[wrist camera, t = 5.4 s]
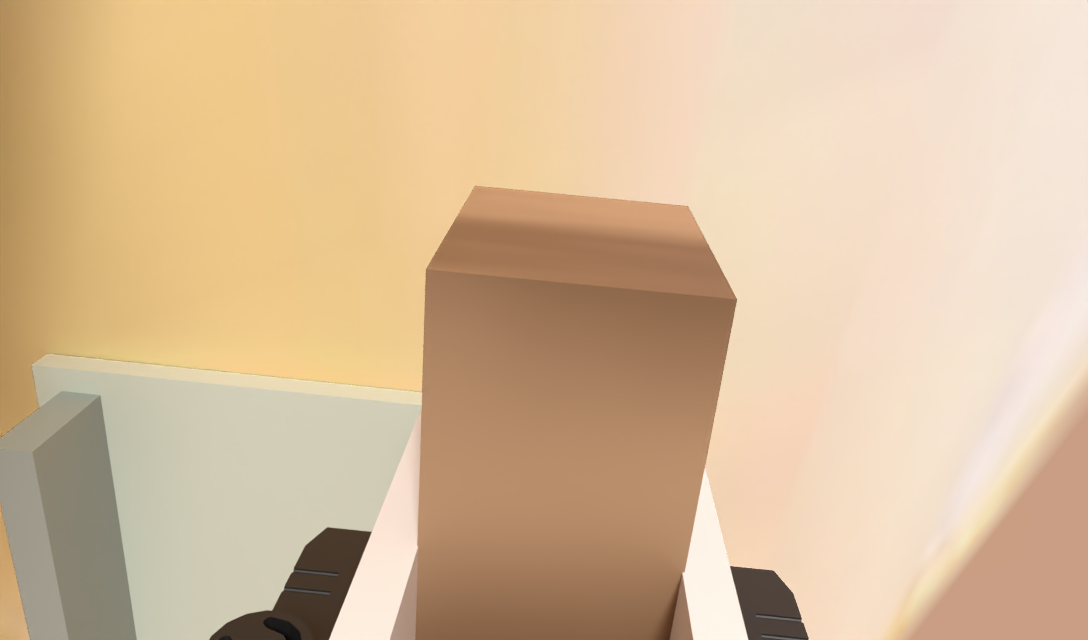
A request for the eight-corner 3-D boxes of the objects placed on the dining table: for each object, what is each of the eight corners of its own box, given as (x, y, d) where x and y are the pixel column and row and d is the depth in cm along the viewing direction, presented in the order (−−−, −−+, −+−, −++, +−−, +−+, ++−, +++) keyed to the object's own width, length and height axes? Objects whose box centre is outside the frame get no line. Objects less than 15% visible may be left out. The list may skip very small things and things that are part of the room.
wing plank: (475, 185, 15) (426, 269, 10) (687, 206, 15) (737, 299, 10) (449, 670, 19) (407, 881, 15) (611, 686, 19) (621, 903, 15)
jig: (47, 353, 30) (-48, 418, 26) (689, 419, 30) (708, 497, 26) (101, 661, 37) (32, 757, 32) (633, 718, 36) (640, 823, 32)
